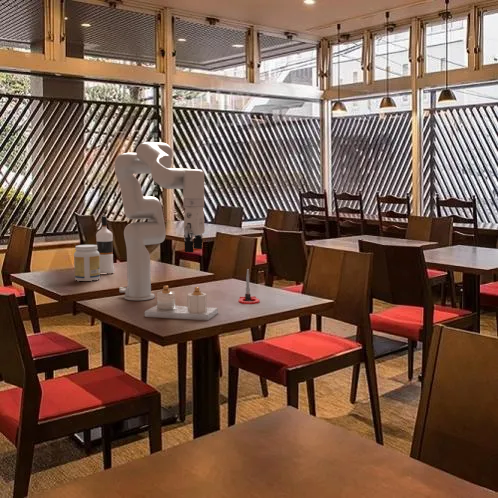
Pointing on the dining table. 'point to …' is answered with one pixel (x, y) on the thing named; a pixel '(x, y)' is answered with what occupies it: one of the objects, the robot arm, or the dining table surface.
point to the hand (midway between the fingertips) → (193, 250)
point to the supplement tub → (86, 263)
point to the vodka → (105, 247)
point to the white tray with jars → (177, 307)
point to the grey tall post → (248, 293)
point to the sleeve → (197, 302)
